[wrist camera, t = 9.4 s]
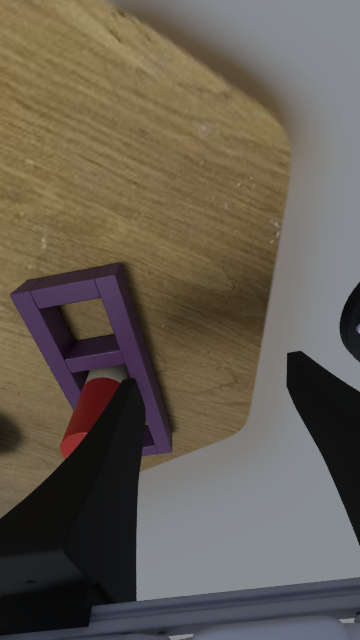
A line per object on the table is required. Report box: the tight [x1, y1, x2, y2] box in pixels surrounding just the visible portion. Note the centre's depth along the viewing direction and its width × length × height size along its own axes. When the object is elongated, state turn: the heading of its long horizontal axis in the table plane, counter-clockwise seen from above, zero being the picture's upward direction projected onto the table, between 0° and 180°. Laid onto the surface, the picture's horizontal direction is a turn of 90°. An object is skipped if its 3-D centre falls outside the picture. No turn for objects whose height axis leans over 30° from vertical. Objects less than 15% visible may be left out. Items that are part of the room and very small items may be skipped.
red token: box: [61, 377, 120, 458], centre depth 20 cm, size 4×4×5 cm
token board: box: [10, 263, 172, 456], centre depth 23 cm, size 7×19×2 cm, turn 10°
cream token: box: [85, 364, 131, 384], centre depth 23 cm, size 4×4×3 cm
